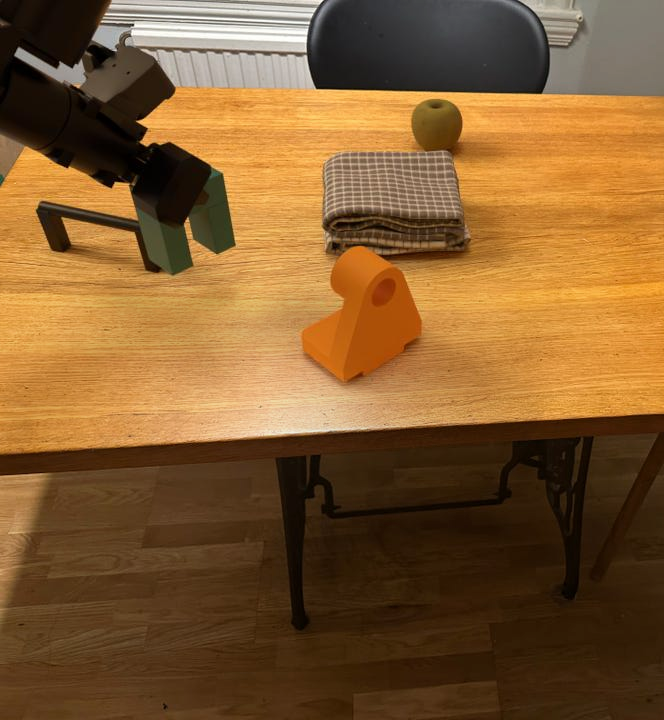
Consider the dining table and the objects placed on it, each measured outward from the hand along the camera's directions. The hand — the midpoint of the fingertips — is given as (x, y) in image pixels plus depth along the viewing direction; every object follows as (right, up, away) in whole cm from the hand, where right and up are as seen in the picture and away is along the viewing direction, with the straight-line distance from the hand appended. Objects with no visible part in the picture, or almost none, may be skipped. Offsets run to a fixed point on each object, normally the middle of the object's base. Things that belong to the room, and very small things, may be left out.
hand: (193, 191), depth 69 cm
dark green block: (-1, -5, +4) cm, 7 cm away
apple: (+21, +16, +40) cm, 48 cm away
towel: (+17, +1, +23) cm, 29 cm away
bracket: (+16, -15, +6) cm, 23 cm away
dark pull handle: (-15, -5, +13) cm, 20 cm away
